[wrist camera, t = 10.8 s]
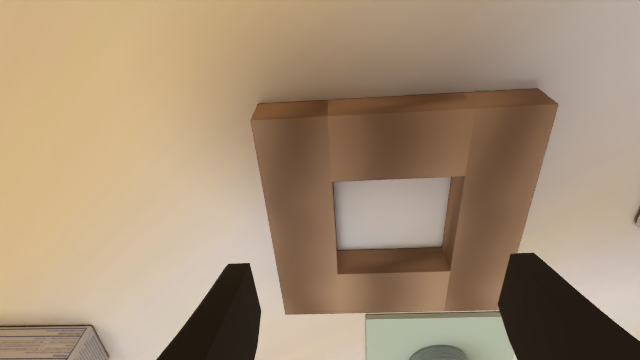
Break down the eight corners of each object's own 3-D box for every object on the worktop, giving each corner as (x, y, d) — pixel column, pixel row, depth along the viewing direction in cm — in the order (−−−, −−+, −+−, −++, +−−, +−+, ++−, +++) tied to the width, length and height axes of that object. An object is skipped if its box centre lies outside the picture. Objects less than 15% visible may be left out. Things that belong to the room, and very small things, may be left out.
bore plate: (537, 88, 18) (558, 104, 17) (490, 285, 26) (501, 309, 24) (257, 104, 19) (250, 120, 18) (288, 290, 27) (285, 314, 25)
